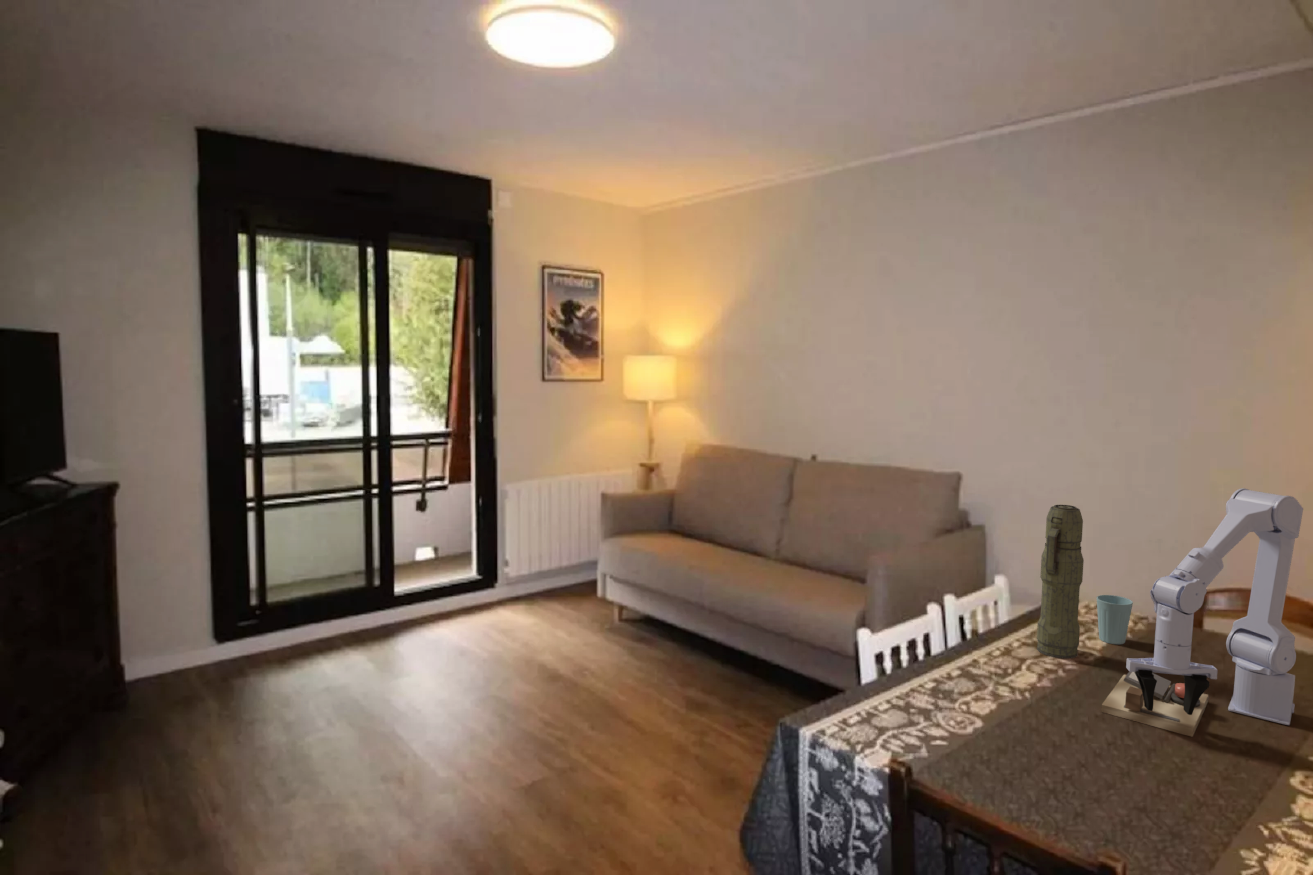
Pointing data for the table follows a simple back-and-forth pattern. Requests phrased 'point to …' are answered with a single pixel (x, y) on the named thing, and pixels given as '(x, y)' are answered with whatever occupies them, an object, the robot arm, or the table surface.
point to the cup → (1113, 618)
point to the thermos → (1061, 583)
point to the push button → (1180, 689)
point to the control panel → (1157, 710)
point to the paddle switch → (1159, 688)
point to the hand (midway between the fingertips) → (1167, 710)
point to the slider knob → (1134, 699)
